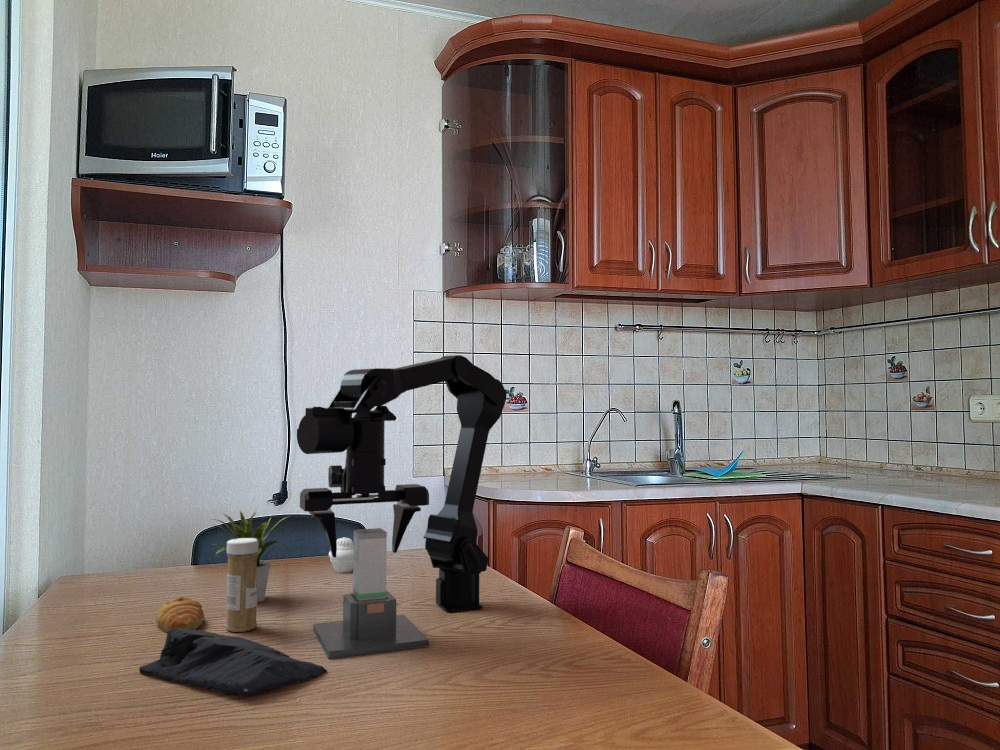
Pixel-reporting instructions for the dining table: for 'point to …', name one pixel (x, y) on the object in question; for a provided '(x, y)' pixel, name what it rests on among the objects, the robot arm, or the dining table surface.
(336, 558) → the muffin
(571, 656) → the dining table surface
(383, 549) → the column
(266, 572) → the house plant
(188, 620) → the pastry
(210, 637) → the dark slate chunk
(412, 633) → the stand
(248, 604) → the sprinkles bottle
